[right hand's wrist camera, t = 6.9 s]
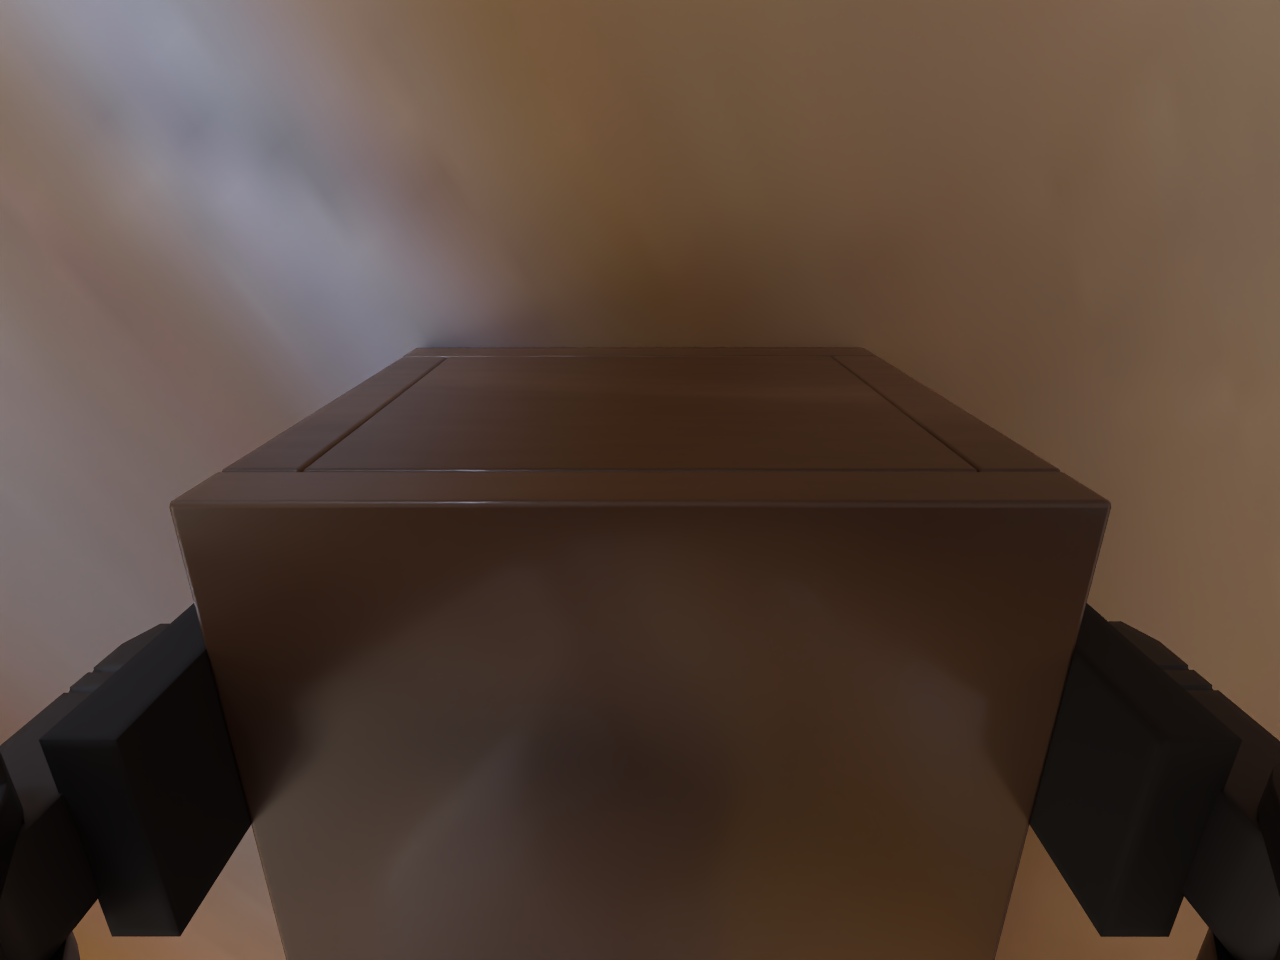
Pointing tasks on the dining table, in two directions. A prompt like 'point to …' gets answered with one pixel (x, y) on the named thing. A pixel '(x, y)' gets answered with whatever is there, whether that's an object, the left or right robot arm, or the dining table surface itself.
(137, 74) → the dining table surface
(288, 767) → the cabinet
